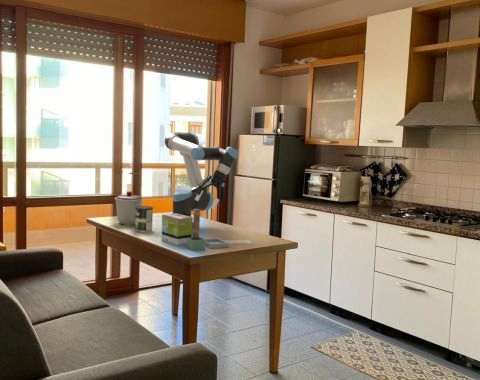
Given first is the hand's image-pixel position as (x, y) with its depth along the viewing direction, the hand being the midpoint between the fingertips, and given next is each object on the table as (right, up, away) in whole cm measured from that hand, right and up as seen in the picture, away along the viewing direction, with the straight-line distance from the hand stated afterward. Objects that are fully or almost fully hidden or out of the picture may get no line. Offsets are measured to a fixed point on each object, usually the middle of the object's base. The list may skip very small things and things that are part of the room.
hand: (204, 204), depth 273 cm
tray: (+7, -21, -25) cm, 33 cm away
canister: (-51, -13, +29) cm, 60 cm away
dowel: (-2, -21, -34) cm, 40 cm away
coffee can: (-37, -16, +9) cm, 42 cm away
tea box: (-14, -20, -20) cm, 31 cm away
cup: (-2, -22, -34) cm, 40 cm away
